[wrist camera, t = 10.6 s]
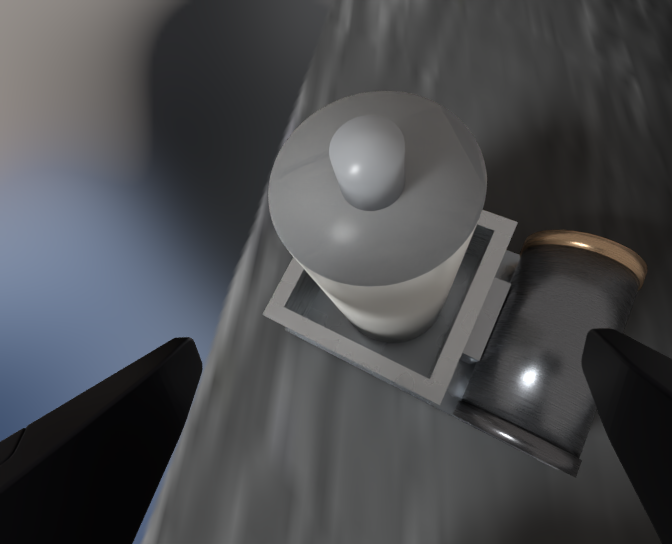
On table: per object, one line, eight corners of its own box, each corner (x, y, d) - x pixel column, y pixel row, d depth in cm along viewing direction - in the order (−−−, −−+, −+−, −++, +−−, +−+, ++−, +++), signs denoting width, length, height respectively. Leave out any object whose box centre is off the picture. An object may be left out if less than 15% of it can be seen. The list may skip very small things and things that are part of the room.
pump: (452, 337, 21) (526, 249, 8) (344, 347, 22) (245, 282, 9) (437, 235, 23) (475, 24, 10) (337, 248, 24) (246, 70, 11)
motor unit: (553, 468, 19) (611, 498, 14) (287, 331, 24) (252, 314, 18) (615, 295, 21) (687, 264, 16) (356, 197, 25) (343, 145, 20)
